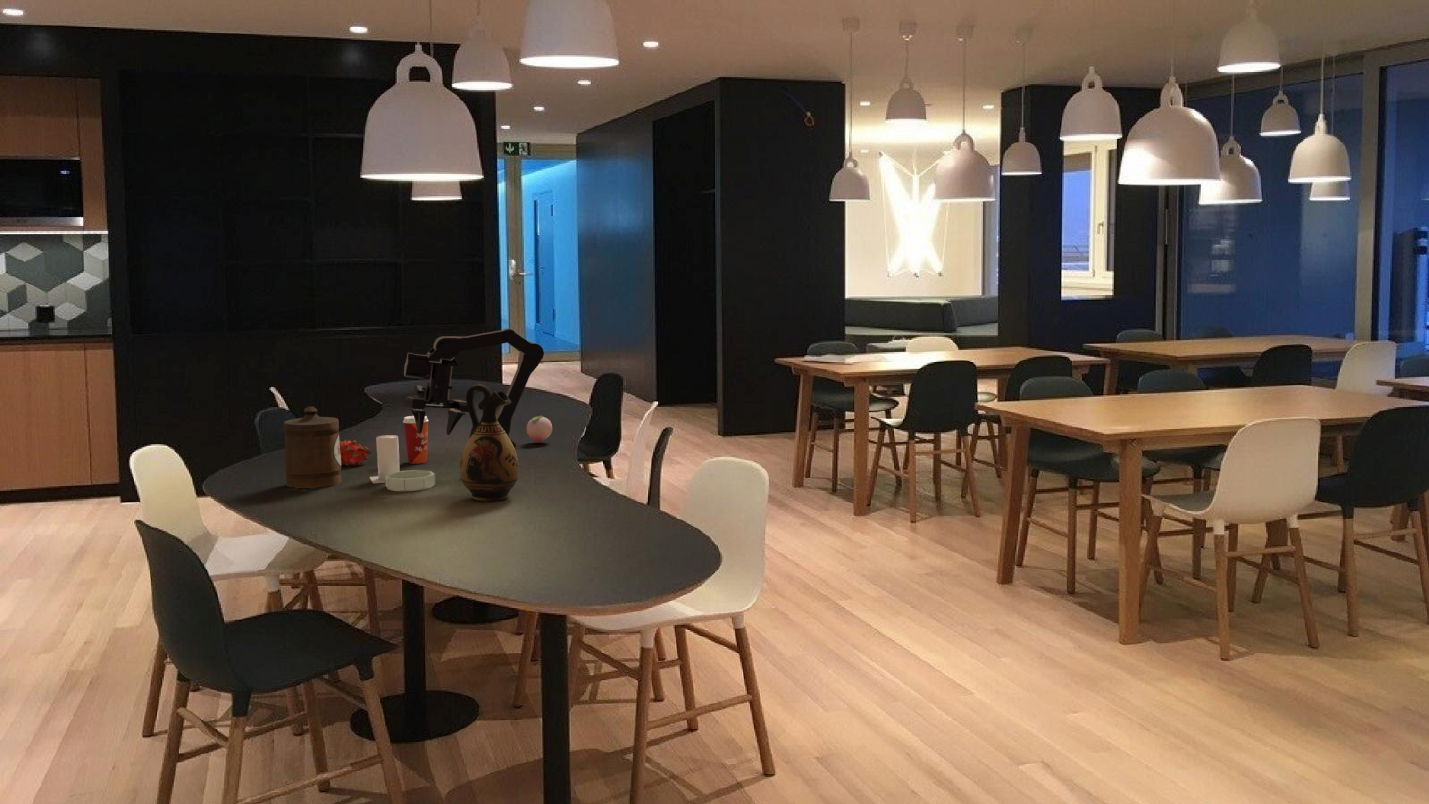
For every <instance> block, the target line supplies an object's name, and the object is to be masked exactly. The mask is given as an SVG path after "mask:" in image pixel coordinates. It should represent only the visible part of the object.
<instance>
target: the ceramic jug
mask: <svg viewBox="0 0 1429 804" xmlns="http://www.w3.org/2000/svg"><path fill="white" fill-rule="evenodd" d="M476 393H478V394H479V393H482V394H483V395H484V397H483V399H481V400H480V402H479V403H478V409H479V410H481V411H482V416H481V418H480V419H479V416H478V413H477V410H476V409H477V408H476V405H475V402H474V396H475V395H476ZM506 394H507V393H506V392H504V391H503V390H499V392H497V391H496V390H495V391H491V389H490V388H489V387H488V386H487V385H485V384H481V383H477V384H473V385H471V386H470V387H469V388H468V390H467V391H466V395H465V400H466V403H467V408H468V411H469V412H468V414H469V417H470V419H471V423H472V425H471V426H472V427H471V429H470V434H469V439H468V441H467V443H466V444H465V447H464V449H463V452H462V453H461V454H462V455H460V462H459V474H460V480H461V483H462V484H463V486H464V487H465V488H466V489H468V491H469V492H470V493H471V499H472V500H475V501H480V502H487V503H492V502H497V501H498V502H501V501H504V499H505V500H507V498H508V495H509V493H510V491H511V490H512V488H513V487H514V486H515V485H516V483H517V481H518V478H519V476H520V475H519V474H520V463H519V459H518V458H519V457H518V454H517V450H516V451H515V449H516V447H515V448H514V446H513V444H512V442H511V441H510V440H511V438H509V437H508V436H507V434H506V432H505V431H504V430H503V428H502V427H501V425H500V424H499V423H498V421H497V419H496V415H497V414H496V412H497V410H498V409H500V408H501V407H502V406H505V405H507V404H510V403H511V400H510V399H509V398H508V396H507V395H506ZM500 500H501V501H500Z"/></svg>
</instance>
